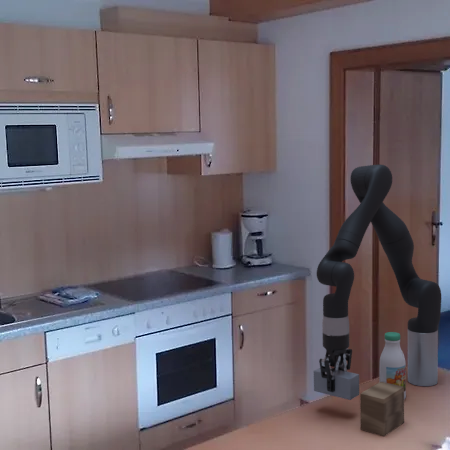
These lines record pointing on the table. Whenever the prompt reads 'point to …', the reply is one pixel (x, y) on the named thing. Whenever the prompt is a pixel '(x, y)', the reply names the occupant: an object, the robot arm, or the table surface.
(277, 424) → the table surface
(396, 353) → the milk bottle
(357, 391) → the pale blue brick
